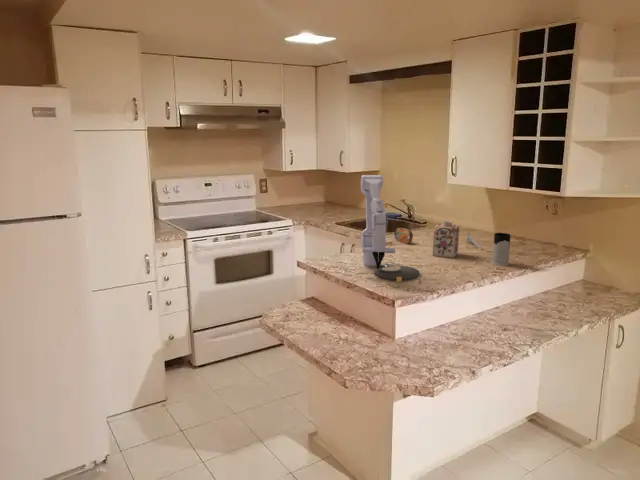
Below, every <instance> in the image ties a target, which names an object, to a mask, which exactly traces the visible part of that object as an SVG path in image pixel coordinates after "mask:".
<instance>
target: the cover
mask: <svg viewBox="0 0 640 480" xmlns="http://www.w3.org/2000/svg"><path fill="white" fill-rule="evenodd" d="M380 266H381V267H380V271H381V272H384V273H399V272H400V271H401V266H402V265H401V264H399V263H396V262H392V261H387V262H383V263H381V265H380Z"/></svg>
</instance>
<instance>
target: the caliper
mask: <svg viewBox="0 0 640 480" xmlns="http://www.w3.org/2000/svg"><path fill="white" fill-rule="evenodd" d="M465 237H466V238H465V242H466V241H467V242H469V243H472V244H473V245H474V246H475V247H476V248H477V247H478V248H482V247H481V245H480V244H478V243H477V241H475V240H474V238H473V236H471V234H470V232H467V234H466V236H465ZM467 242H466V243H467ZM478 248H477V249H478Z"/></svg>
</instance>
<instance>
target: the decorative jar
mask: <svg viewBox="0 0 640 480" xmlns="http://www.w3.org/2000/svg"><path fill="white" fill-rule="evenodd" d="M432 232H433V239H432V253H431V254H432V257H439V258H440V257H443V258H450V259H454V258H455V257H456V256H457V255H458V252H459V239H460V236H459V235H460V227H459V226H458V225H456V224H453V223H452V221H447V220H446V221H445V220H444V221H442V223H439V224H436V225H435V227H434V229H433V231H432Z"/></svg>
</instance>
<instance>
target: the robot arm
mask: <svg viewBox="0 0 640 480" xmlns="http://www.w3.org/2000/svg"><path fill="white" fill-rule="evenodd" d="M383 184H384V178H383V176H382V175H381V174H379V175H377V174H376V175H370V174H369V175H368V174H365V175H364V174H362V176H361V177H360V193H361V194H363V195H364V197H365V223H366V224H365V229H363V230H362V231H361V233H360V242H359V243H360V247H361V249H362V253H363V256H362V257H363V258H362V259H363V262H362V265H364V266H368V267H373V266H376V268H377V269H380V266H381V264H382V262H383V260H384V257H385V254H396V248H395V247H394V248H393V247H386V238H387V237H386V236H387V235H386V233H387V225H388V223H389V214H388V212H387V210H386V209H385V204H384V201H383V199H381V196H380V195H381V193H380V192H381V191H382V188H383Z"/></svg>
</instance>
